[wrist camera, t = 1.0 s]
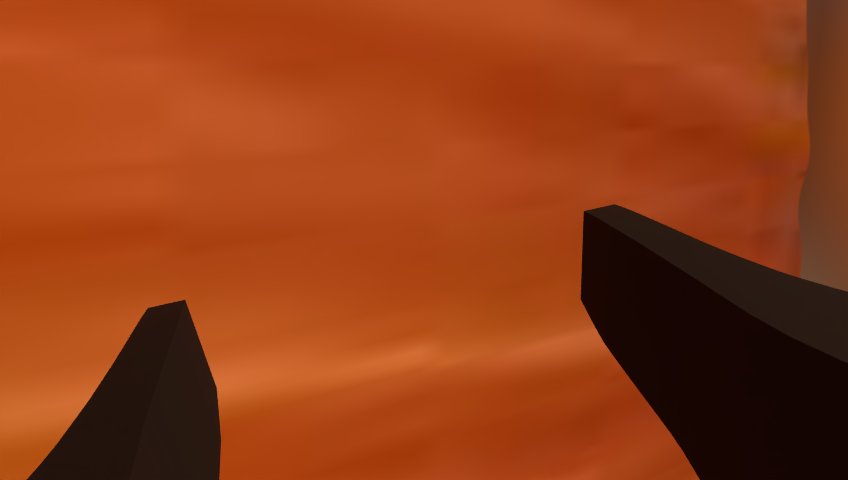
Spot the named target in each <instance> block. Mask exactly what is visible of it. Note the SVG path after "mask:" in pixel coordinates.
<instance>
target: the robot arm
mask: <svg viewBox="0 0 848 480" xmlns="http://www.w3.org/2000/svg"><path fill="white" fill-rule="evenodd" d="M581 301H582V303H583V305H584V306H585V308H586V310H587V312H588V314H589V316H590V318H591V320H592V322H593V324H594V326H595V327H596V329H597V331H598V333H599V335H600V336H601V338H602V340H603V342H604V343H605V345H606V346H607V347H608V349H609V350H610V352H611V353H612V355H613V356H614V357H615V359H616V360H617V361H618V363H619V364H620V365H621V367H622V368H623V370H624V371H625V372H626V374H627V375H628V376H629V378H630V379H631V380H632V382H633V383H634V384H635V386H636V387H637V388H638V390H639V391H640V392H641V394H642V395H643V397H644V398H645V399H646V401H647V402H648V403H649V405H650V406H651V407H652V409H653V410H654V411H655V413H656V414H657V415H658V417H659V418H660V419H661V421H662V422H663V423H664V425H665V426H666V427H667V429H668V430H669V431H670V433H671V434H672V436H673V437H674V439H675V440H676V442H677V443H678V445H679V446H680V448H681V449H682V450H683V452H684V454H685V455H686V457H687V459H688V460H689V462H690V464H691V465H692V467H693V469H694V470H695V472H696V474H697V476H698V477H699V479H700V480H848V292H847V291H843V290H839V289H835V288H831V287H828V286H825V285H821V284H818V283H815V282H811V281H808V280H805V279H801V278H798V277H795V276H791V275H788V274H785V273H782V272H779V271H776V270H774V269H771V268H768V267H765V266H763V265H760V264H757V263H755V262H752V261H749V260H747V259H744V258H741V257H739V256H736V255H734V254H731V253H729V252H726V251H724V250H721V249H719V248H716V247H714V246H712V245H709V244H707V243H704V242H702V241H700V240H698V239H695V238H693V237H691V236H688V235H686V234H684V233H681V232H679V231H677V230H675V229H672V228H670V227H668V226H666V225H663V224H661V223H659V222H657V221H654V220H652V219H650V218H648V217H645V216H643V215H641V214H638V213H636V212H634V211H631V210H629V209H626V208H623V207H621V206H618V205H615V204H614V205H610V206H605V207H601V208H596V209H592V210H587V211H584V221H583V250H582V279H581ZM220 450H221V435H220V422H219V410H218V399H217V388H216V385H215V382H214V380H213V377H212V374H211V371H210V368H209V365H208V363H207V360H206V357H205V354H204V351H203V349H202V346H201V343H200V340H199V337H198V335H197V332H196V329H195V326H194V323H193V321H192V318H191V315H190V312H189V309H188V307H187V304H186V301H185V300H182V301H178V302H173V303H169V304H164V305H160V306H155V307H151V308H148V309H147V310H146V312H145V313H144V315H143V316H142V318H141V319H140V321H139V322H138V324H137V326H136V327H135V329H134V331H133V332H132V334H131V335H130V337H129V339H128V340H127V342H126V344H125V345H124V347H123V349H122V350H121V352H120V353H119V355H118V357H117V358H116V360H115V361H114V363H113V365H112V366H111V368H110V369H109V371H108V372H107V374H106V375H105V377H104V378H103V380H102V381H101V383H100V384H99V386H98V388H97V389H96V391H95V392H94V394H93V395H92V397H91V398H90V400H89V401H88V402H87V404H86V405H85V407H84V408H83V409H82V411H81V412H80V414H79V415H78V416H77V418H76V419H75V420H74V422H73V423H72V424H71V426H70V427H69V428H68V430H67V431H66V433H65V434H64V435H63V437H62V438H61V439H60V441H59V442H58V443H57V445H56V446H55V447H54V448H53V450H52V451H51V452H50V453H49V454H48V456H47V457H46V458H45V459H44V460H43V462H42V463H41V464H40V465H39V466H38V468H37V469H36V470H35V471H34V472H33V473H32V474H31V475H30V477H29V478H28V479H27V480H219V472H220Z"/></svg>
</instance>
